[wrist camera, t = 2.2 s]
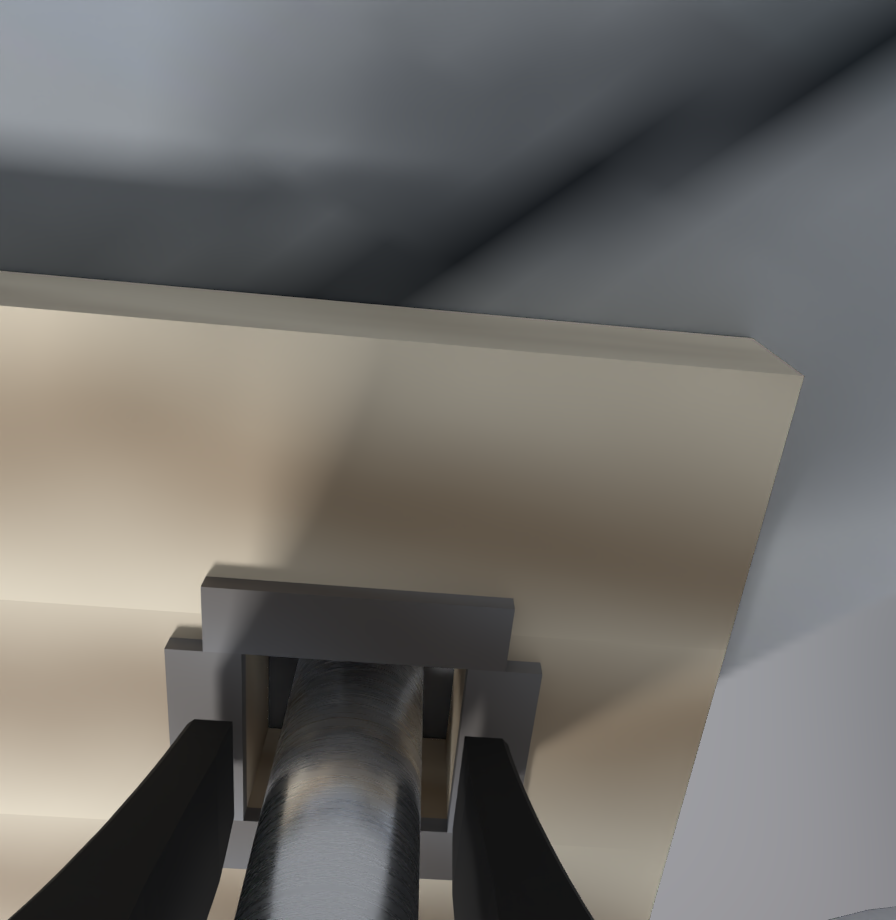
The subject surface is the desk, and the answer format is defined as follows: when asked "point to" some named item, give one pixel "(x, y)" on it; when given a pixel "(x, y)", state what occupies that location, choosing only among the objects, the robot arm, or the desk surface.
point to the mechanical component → (872, 915)
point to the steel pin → (342, 799)
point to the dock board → (369, 552)
